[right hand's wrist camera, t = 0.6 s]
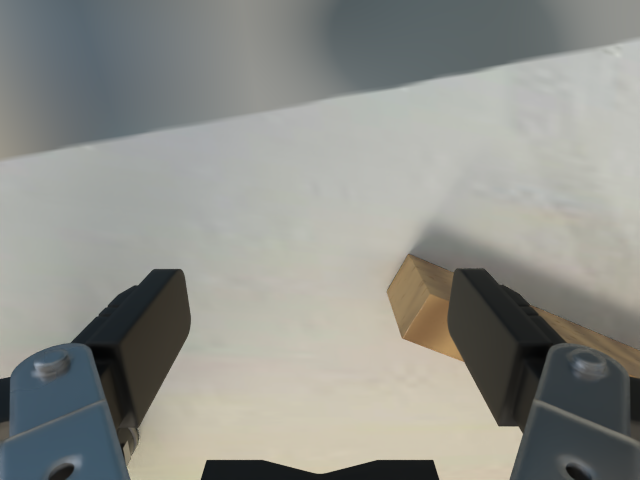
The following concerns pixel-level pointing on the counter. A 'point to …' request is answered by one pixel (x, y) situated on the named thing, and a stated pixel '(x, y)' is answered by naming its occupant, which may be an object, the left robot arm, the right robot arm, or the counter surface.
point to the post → (432, 309)
